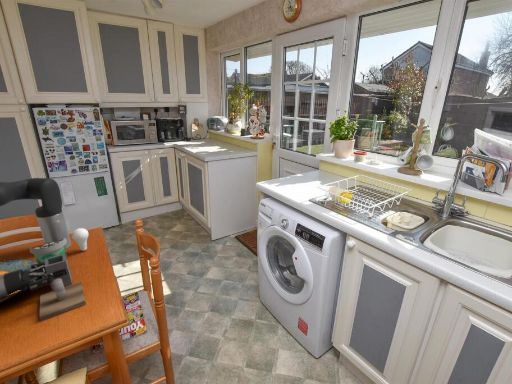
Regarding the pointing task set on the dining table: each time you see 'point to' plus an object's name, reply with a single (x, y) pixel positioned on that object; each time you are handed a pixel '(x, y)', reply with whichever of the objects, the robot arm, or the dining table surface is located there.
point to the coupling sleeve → (58, 268)
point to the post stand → (61, 299)
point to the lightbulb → (81, 238)
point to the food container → (49, 250)
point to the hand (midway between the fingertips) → (65, 266)
